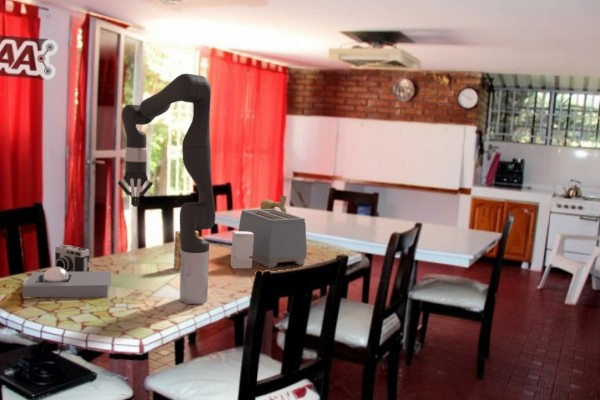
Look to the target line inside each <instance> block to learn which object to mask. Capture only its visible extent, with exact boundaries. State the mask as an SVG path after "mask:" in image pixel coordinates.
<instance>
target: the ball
mask: <svg viewBox="0 0 600 400" xmlns="http://www.w3.org/2000/svg"><path fill="white" fill-rule="evenodd" d="M44 272H45V274H44V277H43V281H44V283H49V282H68V280H69V276H68V273H67V271H66V270H65V269H63V268H61V267H55V266H53V267H50V268H48V269H47V270H46V271H44Z"/></svg>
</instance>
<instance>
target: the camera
mask: <svg viewBox="0 0 600 400" xmlns="http://www.w3.org/2000/svg"><path fill="white" fill-rule="evenodd" d="M54 254H55V260H54V263H55V265H54V267H61V268H63V269H65V270H66V271H67V272H87V271H90V250H89V249H88V248H85V247H79V246H78V247H77V246H73V245H70V244H69V245H67V244H62V245H56V246H55V252H54Z"/></svg>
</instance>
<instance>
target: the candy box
mask: <svg viewBox="0 0 600 400" xmlns="http://www.w3.org/2000/svg"><path fill="white" fill-rule="evenodd" d="M195 234H196V237H197V238H200V232H199V230H195ZM174 235H175V236H174V255H173V268H174V269H175V270H176V271H178V270H180V267H181V242H180V230H176V231H175V234H174Z"/></svg>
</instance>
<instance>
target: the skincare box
mask: <svg viewBox="0 0 600 400" xmlns="http://www.w3.org/2000/svg"><path fill="white" fill-rule="evenodd" d="M231 238H232V239H231V252H230V253H231V254H230V267H231V268H232V269H235V270H237V269H252V267H253V260H252V255H253V242H254V234H253V233H252V232H244V231H239V230H235V231H234V230H233V231H232V237H231Z"/></svg>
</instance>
